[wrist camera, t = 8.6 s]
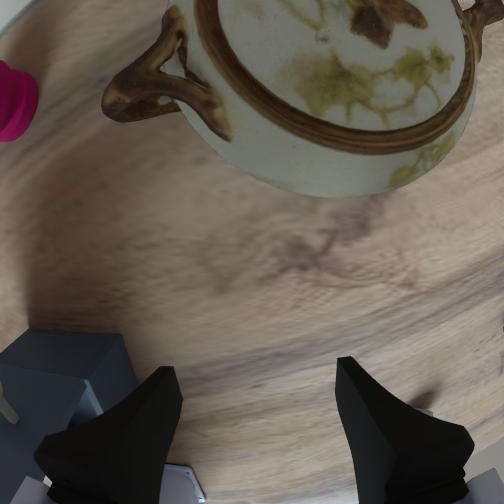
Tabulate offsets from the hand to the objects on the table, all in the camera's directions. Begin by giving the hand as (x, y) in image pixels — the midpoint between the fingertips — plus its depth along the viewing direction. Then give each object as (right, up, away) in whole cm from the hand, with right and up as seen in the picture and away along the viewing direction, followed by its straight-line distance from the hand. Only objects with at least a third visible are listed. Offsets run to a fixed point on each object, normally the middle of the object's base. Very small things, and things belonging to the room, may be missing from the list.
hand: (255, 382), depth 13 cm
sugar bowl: (+4, +17, +5) cm, 18 cm away
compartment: (-16, -9, +13) cm, 22 cm away
